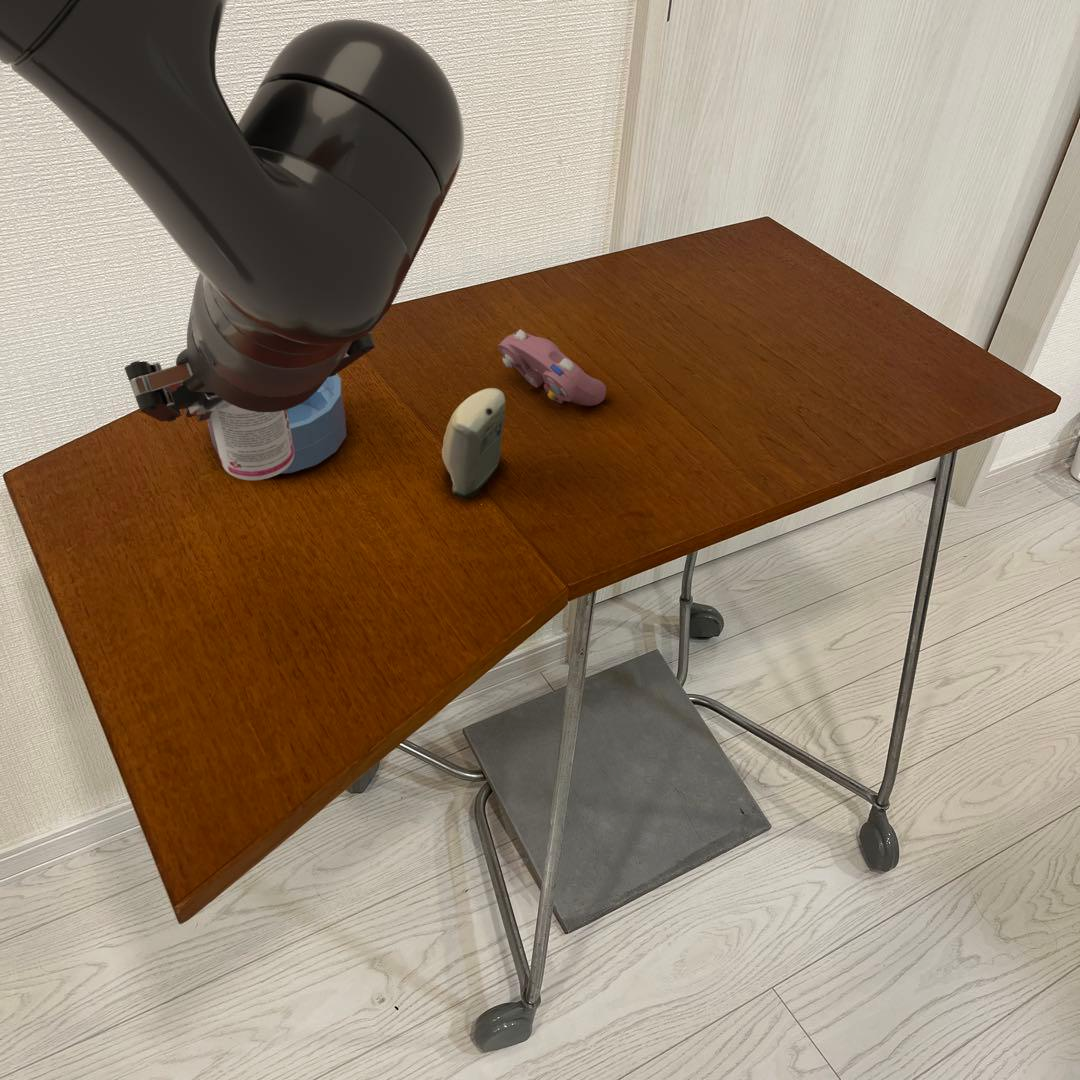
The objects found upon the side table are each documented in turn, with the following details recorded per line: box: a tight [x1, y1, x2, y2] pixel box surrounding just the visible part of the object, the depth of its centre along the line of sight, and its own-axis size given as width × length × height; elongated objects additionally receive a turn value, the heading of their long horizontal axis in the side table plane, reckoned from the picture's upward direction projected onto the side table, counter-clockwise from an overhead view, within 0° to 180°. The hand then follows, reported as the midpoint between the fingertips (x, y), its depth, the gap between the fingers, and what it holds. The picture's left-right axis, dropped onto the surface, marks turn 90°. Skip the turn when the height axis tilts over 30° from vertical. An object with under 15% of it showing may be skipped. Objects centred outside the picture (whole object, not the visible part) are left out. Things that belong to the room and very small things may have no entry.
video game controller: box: [497, 329, 607, 407], centre depth 91 cm, size 10×5×7 cm, turn 43°
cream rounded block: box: [441, 387, 507, 500], centre depth 81 cm, size 6×5×8 cm
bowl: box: [205, 373, 347, 475], centre depth 86 cm, size 11×11×5 cm
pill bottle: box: [210, 405, 294, 481], centre depth 64 cm, size 5×5×8 cm
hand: (238, 393), depth 65 cm, fingers closed on pill bottle, 4 cm apart
